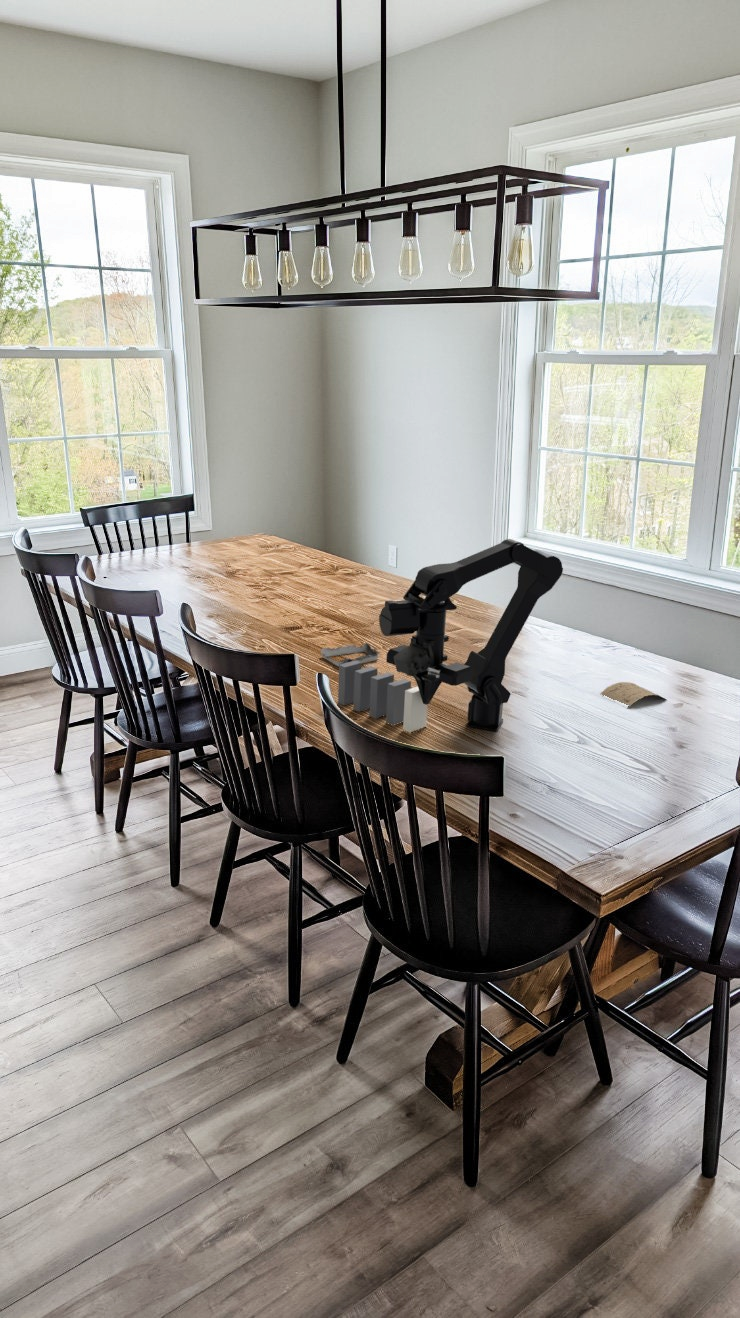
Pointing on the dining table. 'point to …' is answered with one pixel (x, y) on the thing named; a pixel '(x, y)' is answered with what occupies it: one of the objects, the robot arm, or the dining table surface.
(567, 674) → the dining table surface
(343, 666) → the domino
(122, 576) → the dining table surface
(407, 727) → the loose domino
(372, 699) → the domino
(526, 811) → the dining table surface
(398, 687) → the domino
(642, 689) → the tan curved piece
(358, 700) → the domino
